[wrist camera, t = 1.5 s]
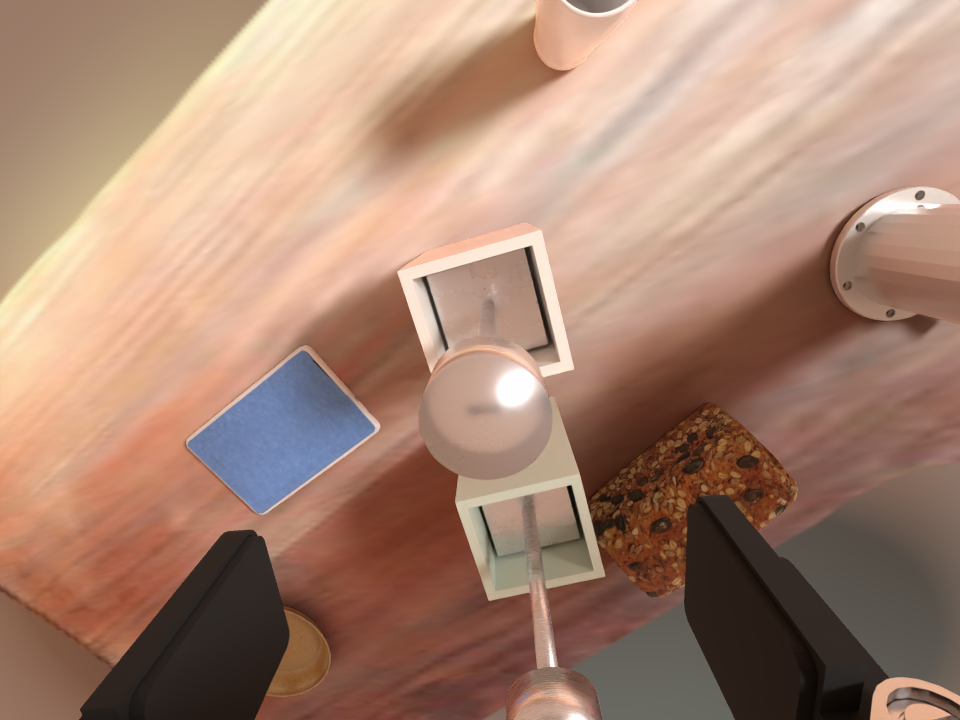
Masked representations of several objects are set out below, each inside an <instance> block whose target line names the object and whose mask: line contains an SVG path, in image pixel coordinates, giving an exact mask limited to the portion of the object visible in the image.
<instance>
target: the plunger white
mask: <svg viewBox="0 0 960 720" xmlns="http://www.w3.org/2000/svg"><path fill="white" fill-rule="evenodd" d="M426 277H427V280H428V283H429V286H430V289H431V293H432V296H433V299H434V302H435V305H436V309H437V312H438V315H439V318H440V321H441V324H442V328H443V331H444V334H445V337H446V340H447V344H448V347H449V349H448V350H447V351H446V352H445V353H444V354H443V355H442V356H441V357H440V358H439V360H438V361H437V363H436V364H435V366H434V368H433V370H432V373H431V376H430V378H429V381H428V384H427V387H426V390H425V392H424V395H423V398H422V401H421V404H420V410H419V427H420V432H421V436H422V438H423V441H424V443H425V445H426V447H427V448H428V450H429V452H430V453H431V454H432V455H433V457H434V458H435V459H436V460H437V461H438V462H439V463H440V464H442V465H443V466H444V467H446V468H447V469H449V470H450V471H452V472H454V473H456V474H459V475H461V476H464V477H467V478H472V479H477V480H495V479H501V478H505V477H508V476H511V475H514V474H516V473H518V472H520V471H522V470H524V469H525V468H527V467H528V466H529V465H531V464H532V463H533V462H534V461H535V460H536V459H537V458H538V457H539V456H540V454H541V453H542V452H543V450H544V448H545V447H546V445H547V443H548V441H549V438H550V435H551V431H552V424H553V413H552V407H551V403H550V400H549V396H548V393H547V390H546V386H545V383H544V380H543V377H542V374H541V371H540V369H539V367H538V365H537V363H536V362H535V360H534V359H533V357H532V356H531V355H530V354H529V353H528V352H527V351H526V350H527V349H530V348H534V347H538V346H542V345H546V344H548V341H547V337H546V333H545V329H544V325H543V321H542V317H541V313H540V309H539V305H538V301H537V297H536V293H535V289H534V285H533V281H532V277H531V273H530V269H529V265H528V261H527V257H526V253H525V249H524V248H521V249H517V250H514V251H510V252H507V253H503V254H500V255H496V256H493V257H489V258H486V259H482V260H479V261H475V262H472V263H468V264H465V265H461V266H458V267H454V268H451V269H447V270H444V271H440V272H437V273H433V274H430V275H427V276H426Z"/></svg>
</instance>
